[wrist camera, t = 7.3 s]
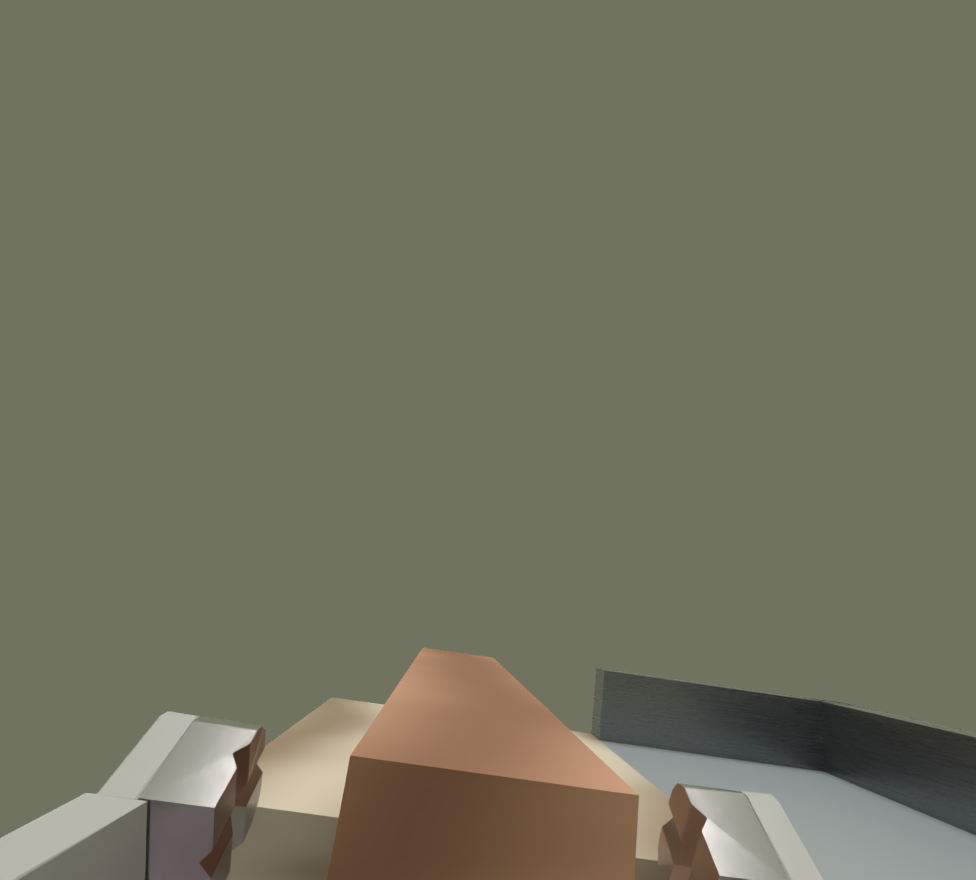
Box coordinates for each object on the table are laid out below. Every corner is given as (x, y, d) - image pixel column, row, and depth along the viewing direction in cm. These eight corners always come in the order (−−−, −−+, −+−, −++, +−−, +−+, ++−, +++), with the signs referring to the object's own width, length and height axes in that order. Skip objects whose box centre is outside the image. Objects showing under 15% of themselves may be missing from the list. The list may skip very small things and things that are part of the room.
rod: (280, 1133, 5) (349, 755, 6) (410, 724, 24) (423, 647, 25) (617, 1173, 5) (639, 795, 6) (482, 734, 24) (492, 657, 25)
